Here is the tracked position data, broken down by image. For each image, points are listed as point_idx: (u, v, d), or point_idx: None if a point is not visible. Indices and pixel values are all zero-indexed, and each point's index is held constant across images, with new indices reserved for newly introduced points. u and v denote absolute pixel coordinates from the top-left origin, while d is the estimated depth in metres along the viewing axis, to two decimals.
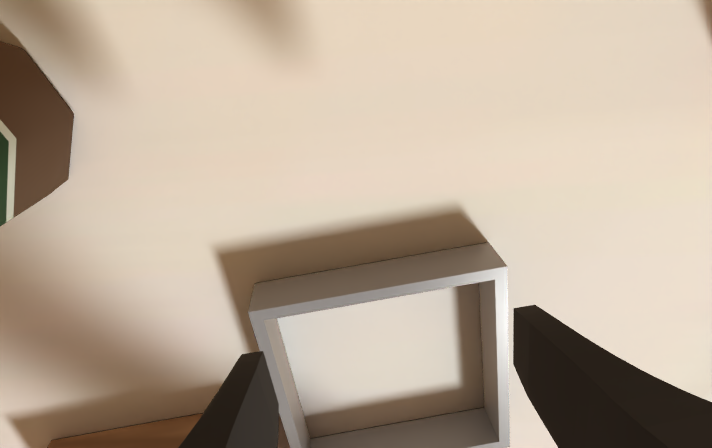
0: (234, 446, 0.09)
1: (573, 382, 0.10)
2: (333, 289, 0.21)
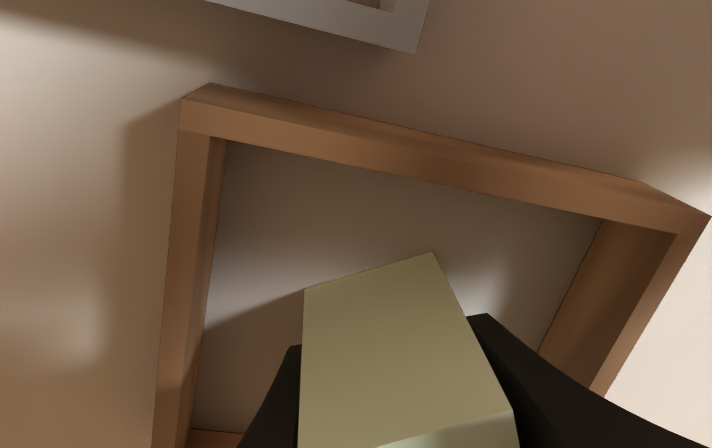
0: None
1: (513, 392, 0.10)
2: None
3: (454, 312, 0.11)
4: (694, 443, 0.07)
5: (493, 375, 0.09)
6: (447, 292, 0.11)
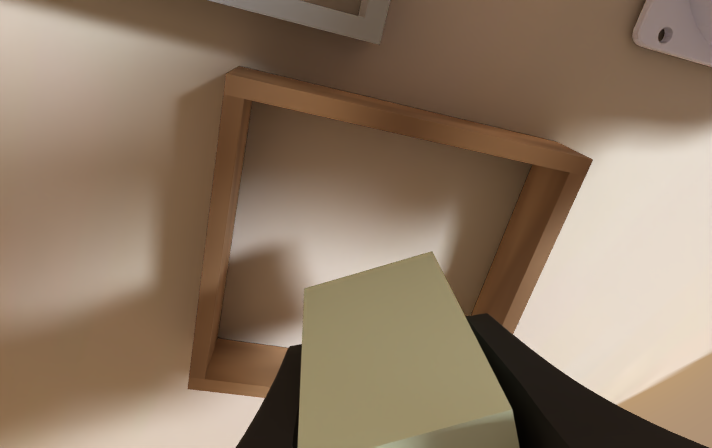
0: None
1: (512, 393, 0.10)
2: None
3: (454, 312, 0.11)
4: (694, 443, 0.07)
5: (493, 375, 0.09)
6: (446, 292, 0.11)
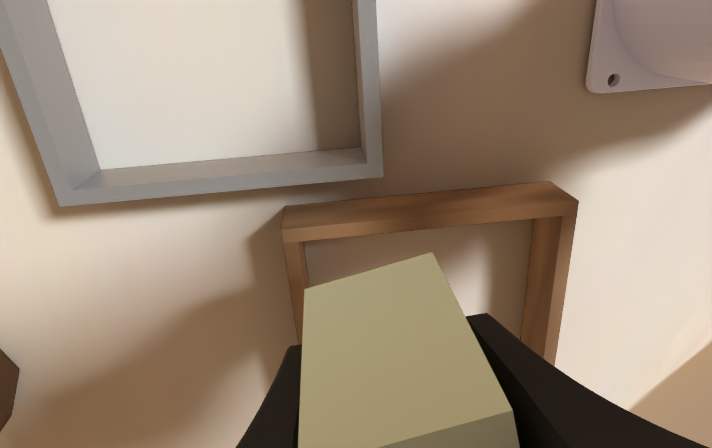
0: None
1: (512, 392, 0.10)
2: None
3: (454, 313, 0.11)
4: (694, 443, 0.07)
5: (493, 376, 0.09)
6: (446, 293, 0.11)
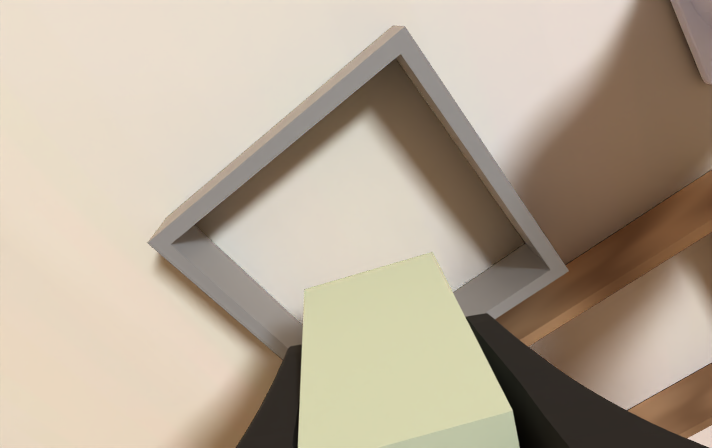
0: None
1: (513, 392, 0.10)
2: None
3: (454, 313, 0.11)
4: (694, 443, 0.07)
5: (493, 376, 0.09)
6: (446, 293, 0.11)
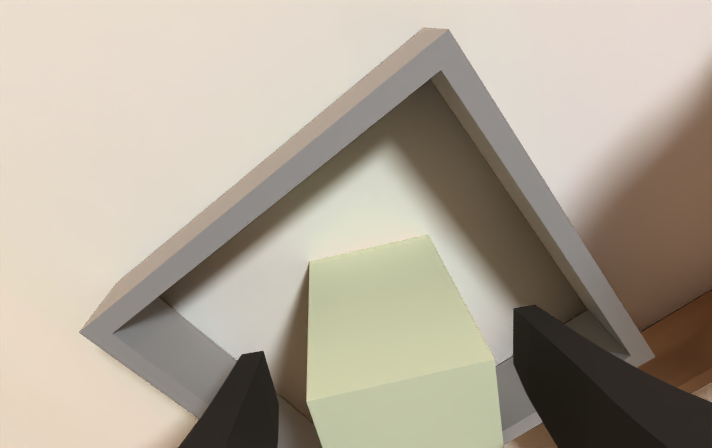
0: (235, 446, 0.09)
1: (573, 382, 0.10)
2: None
3: (446, 284, 0.12)
4: None
5: (479, 333, 0.10)
6: (440, 268, 0.13)
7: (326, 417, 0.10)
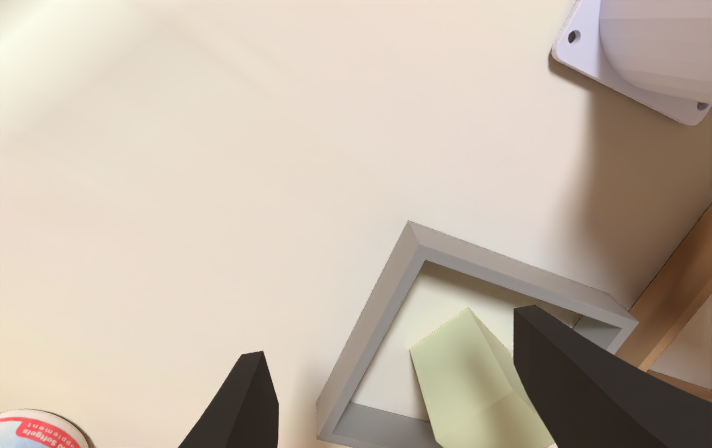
0: (234, 446, 0.09)
1: (573, 382, 0.10)
2: None
3: (484, 345, 0.21)
4: None
5: (504, 376, 0.19)
6: (479, 334, 0.22)
7: (449, 444, 0.19)
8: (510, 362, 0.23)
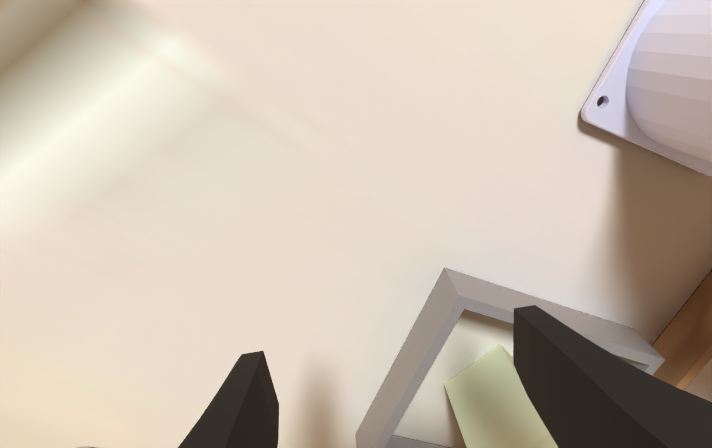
0: (235, 446, 0.09)
1: (573, 382, 0.10)
2: None
3: (519, 385, 0.22)
4: None
5: None
6: (513, 373, 0.23)
7: None
8: None
